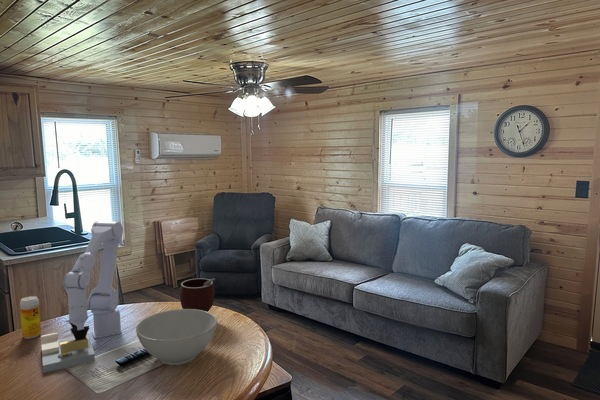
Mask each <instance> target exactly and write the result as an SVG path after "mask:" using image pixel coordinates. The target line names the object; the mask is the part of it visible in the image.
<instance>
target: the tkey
mask: <svg viewBox="0 0 600 400" xmlns="http://www.w3.org/2000/svg"><path fill="white" fill-rule="evenodd" d="M85 348H88V338H87V337H86V338H82V339H77V340H72V341H67V342H62V343H60V349H61V354H62V356H67V355H68V352H71V351H76V350H80V349H85Z"/></svg>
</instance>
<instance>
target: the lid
mask: <svg viewBox="0 0 600 400" xmlns="http://www.w3.org/2000/svg"><path fill="white" fill-rule="evenodd" d="M58 337H59V336H58V332H53V333H47V334H44V335H40V341H41V342H40V343H41V356H42V355H44V354H48V353H53V352H57V351H59V344H58V339H59V338H58Z"/></svg>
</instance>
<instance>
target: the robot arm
mask: <svg viewBox="0 0 600 400" xmlns="http://www.w3.org/2000/svg"><path fill="white" fill-rule="evenodd" d="M90 229H91V230H90V231H91V232H90V233H91V238H90V240H89V242H88V245H87V246H86V249H85V251H84V253H81V254H79V256H78V258H77V259H76V262H75V264H74V265H73V267H72V269H71V271H68V272H67V273H66V274H65V275H64V277H63V281H62V285H63V288H64V289H65V293H66V294H67V303H68V318H67V317H66V318H65V319H64V320H65V323H69V324H70V326H71V328H70V332H71V333H72V336H74V337H75V340H77V339H82V338H86V335H87V333H88V332H89V330H90V325H87V326H85V323H86V322H87V320H89V315H88V310H89V311H91V312H90V313H91V314H92V316H93V318H92V319H93V330H91V334H92V336H93V338H94V339H101V338H105V337H109V336H114V335H118V334H122V330H121V329H122V328H121V327H122V326H121V325H122V324H121V312H120V310H119V308H117V307H118V305H119V291H118V290H117V289H115V287H113V283H114V282H113V281H114V276H115V270H116V262H117V257H118V250H119V244H121V242H122V240H123V233H124V228H123V224H122V223H121V222H120V221H119V220H118V221H108V220H107V221H106V220H105V221H104V220H102V221H101V220H96V221H94V222H93V224H92V226H91V228H90ZM102 246H103V251H102V252H103V253H102V259H101V264H100V270H99V276H98V282H97V285H96V286H95V287H94V288H93V289H91V290H90V293H89V294H90V295H89V296H88V298H87V287H88V285H90V278H91V271H92V270H93V267H94V266H95V264H96V260H97V259H96V258H95V257H96V255H97V254H98V252H99V251H100V248H101V247H102Z"/></svg>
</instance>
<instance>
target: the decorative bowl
mask: <svg viewBox="0 0 600 400" xmlns="http://www.w3.org/2000/svg"><path fill="white" fill-rule="evenodd" d="M217 325H218V319H217V317H216V316H215V315H214V314H213V313H211V312H210V311H208V312H206V311H202V310H196V309H183V308H179V309H172V310H167V311H162V312H158V313H154V314H152V315H149V316H148V317H146V318H144V319H142V320H141V321H140V322H139V323H138V324H137V326H136V328H135V332H136V336H137V338H138V340H139V342H140V344H141V345H142V347H143V349H145V351H146V352H147V353H148V354H150V355H151V356H152V357H153V358H155V359H157V360H160V362H161V364H164V365H168V366H180V365H185V364H188V363H190V362H191V361H193V360H195V358H197V356H198V355H199V354H200V353H201V352H203V350H205V349H206V347H207V346H208V345H209V343H210V342H211V340H212V338H213V337H214V335H215V332H216V328H217Z"/></svg>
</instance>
